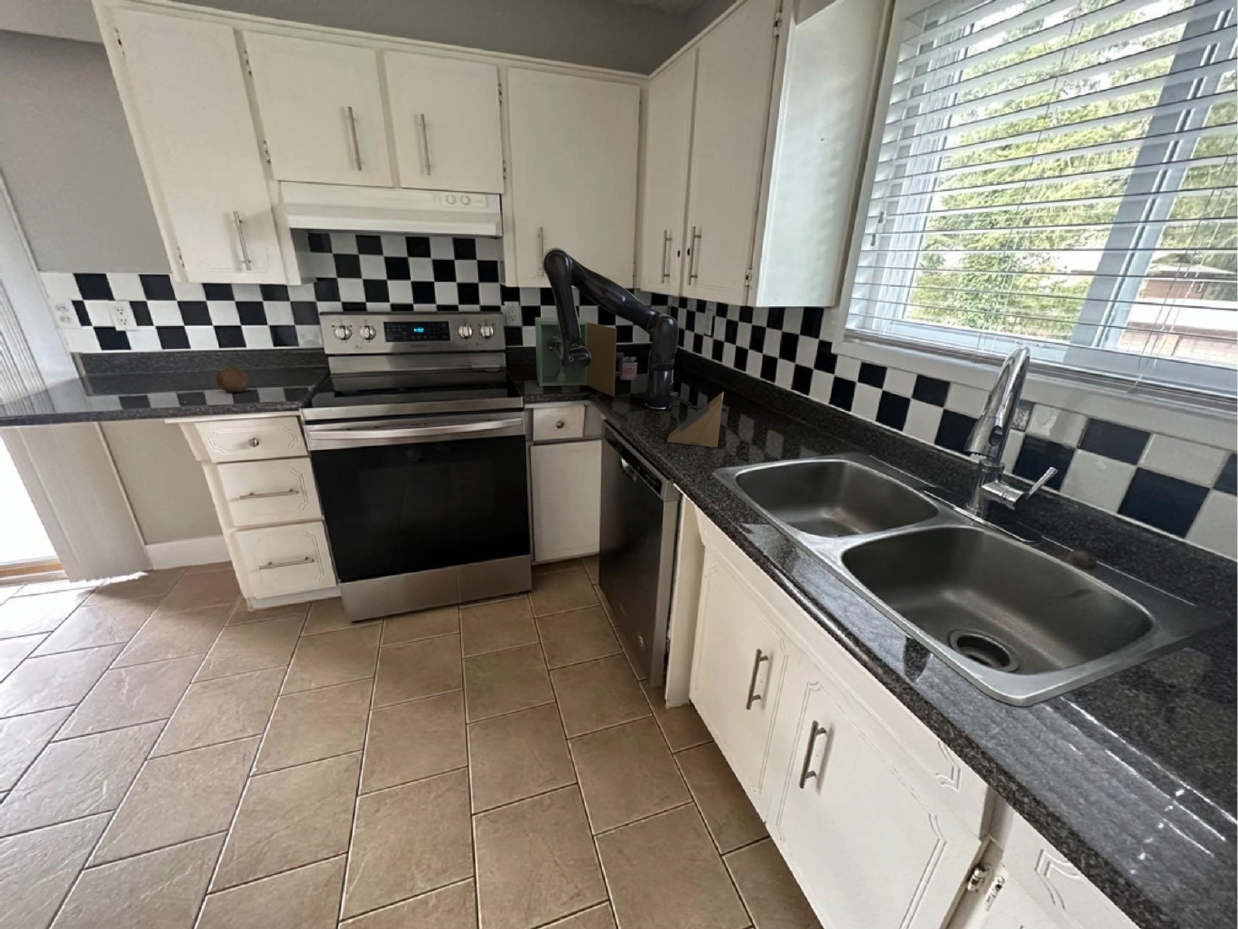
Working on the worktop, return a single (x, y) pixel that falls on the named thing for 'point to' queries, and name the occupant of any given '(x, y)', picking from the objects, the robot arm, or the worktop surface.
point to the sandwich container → (701, 426)
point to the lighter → (629, 369)
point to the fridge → (548, 359)
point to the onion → (232, 380)
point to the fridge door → (603, 358)
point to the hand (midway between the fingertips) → (564, 343)
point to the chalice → (561, 375)
